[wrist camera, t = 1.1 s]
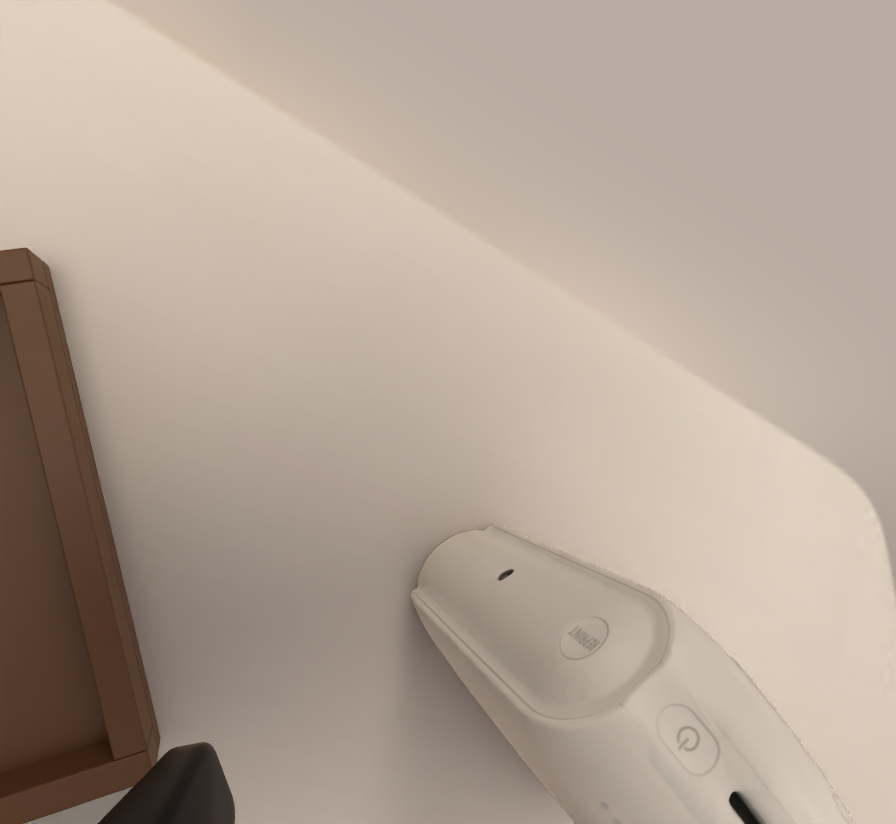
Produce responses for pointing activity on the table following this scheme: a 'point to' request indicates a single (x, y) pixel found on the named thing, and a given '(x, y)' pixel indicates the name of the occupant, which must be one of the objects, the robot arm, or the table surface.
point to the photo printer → (613, 691)
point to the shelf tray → (58, 580)
